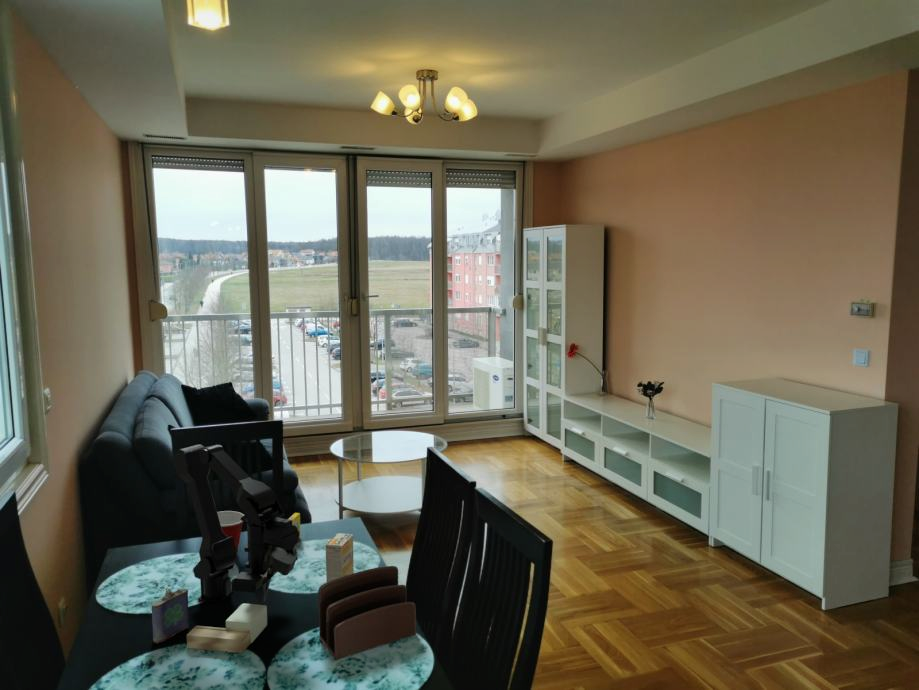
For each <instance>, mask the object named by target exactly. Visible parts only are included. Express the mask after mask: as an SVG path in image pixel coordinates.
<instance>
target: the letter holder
mask: <svg viewBox="0 0 919 690" xmlns="http://www.w3.org/2000/svg"><path fill="white" fill-rule="evenodd" d="M407 591H408V589H407V586H406V585H405V584H399V568H398V567H397V566H395V565H389V566H381V567H380V566H379V567H375V568H374V567H373V568H370V569H364V570H361V571H356V572H354V573H353V574H350V575H347V576H344V577H341V578H338V579H335V580H332V581H330V582H327V581H326V582H324V583H322V585H320V586H319V587H318V593H317V595H318V597H317V598H318V616H319V617H318V622H319V626H318V628H319V629H318V630H319V635H318V636H319V641H322V642H321V643H322V645H323V646H324V645H325V646H324V647H325V648H326V650H327V649H328V650H327V651H328V652H329V654H330V655H331V657H332V658H333V657H334V658H333V659H334V660H335V661H338V660H341V659H344V658H347V657H349V656H353V655H355V654H358V653H362V652H365V651H368V650H371V649H375V648H377V647H380V646H383V645H386V644H390V643H392V642H396V641H399V640H402V639H405V638H408V637H410V636H412V637H413V635H416V634H417V613H416V610H417V608H416V604H415V602H412V601H408V598H407V596H408V593H407Z"/></svg>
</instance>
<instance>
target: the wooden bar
mask: <svg viewBox="0 0 919 690" xmlns="http://www.w3.org/2000/svg"><path fill="white" fill-rule="evenodd" d="M250 644H252V643H251V641H250V630H239V629H228V628H226V627H214V626H206V625H205V626H204V625H195V626H194V627H193V628H192V629H191V630H190V631H189V632H188V633H187V634H186V648H187V649H197V650H206V651H207V650H208V651H215V650H220V651H219V652H225V651H228V652H227V653H236V652H238V653H237V654H242V652H243V653H244V652H245V650H246V649H247V648H248V647H249V646H250Z"/></svg>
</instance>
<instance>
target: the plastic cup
mask: <svg viewBox="0 0 919 690" xmlns="http://www.w3.org/2000/svg"><path fill="white" fill-rule="evenodd" d="M217 513H218V517H219V521H220V524H221V528H222V531H223V533H224V534H225V535H227V536H228V537H231V536H232V537H233V539H234V543H235V547H236V549H237V554H238V552H239V544H240V540H241V533H242V527H243V523H244V521H241V517H243V516H244V515H245V513H244V514H243V513H242V512H239V511H236V510H235V511H233V510H224V511H217Z"/></svg>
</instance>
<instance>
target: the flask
mask: <svg viewBox="0 0 919 690" xmlns="http://www.w3.org/2000/svg"><path fill="white" fill-rule="evenodd" d="M164 591H165V594H164V596H162V597H161V598H159V599H157V600H155V601H154V602H152V604H151V607H150V608H151V620H152V621H151V624H152V640H153V641H152V642H153V643H154V644H159V643H162V642H164V641H167V639H168V640H169V639H170V638H172V637H174V636H175V635H176V634H177V633H180V632H182V631H184V630H185V629H188V628H189V626H190V623H189V621H190V619H189V617H190V616H189V611H190V610H189V596H188V595H189V590H188V589H186V588H180V589H179V588H178V589H177V590H175V591H173V590H171V588H169V587H166V588H165V589H164Z"/></svg>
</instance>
